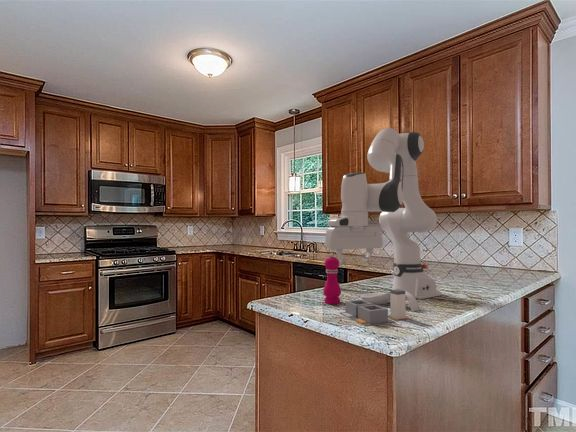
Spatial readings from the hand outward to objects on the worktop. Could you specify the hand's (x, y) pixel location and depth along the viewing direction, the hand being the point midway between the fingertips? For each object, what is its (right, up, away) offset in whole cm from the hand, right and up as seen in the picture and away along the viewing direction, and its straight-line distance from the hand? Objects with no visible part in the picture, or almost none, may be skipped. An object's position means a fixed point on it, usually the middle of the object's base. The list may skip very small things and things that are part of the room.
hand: (354, 262), depth 117 cm
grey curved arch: (+17, -20, +20) cm, 33 cm away
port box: (+4, -19, +1) cm, 20 cm away
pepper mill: (-4, -20, +27) cm, 34 cm away
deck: (+15, -19, +1) cm, 24 cm away
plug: (+15, -19, +1) cm, 24 cm away
